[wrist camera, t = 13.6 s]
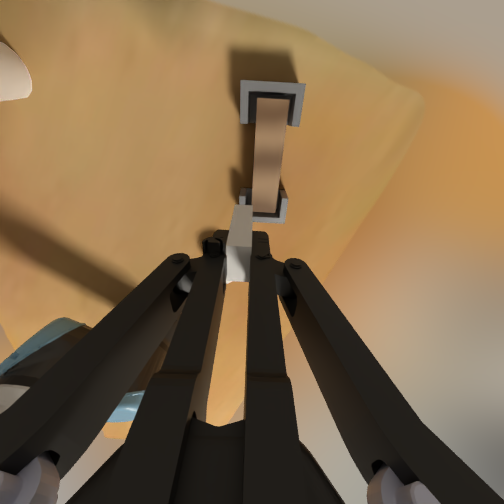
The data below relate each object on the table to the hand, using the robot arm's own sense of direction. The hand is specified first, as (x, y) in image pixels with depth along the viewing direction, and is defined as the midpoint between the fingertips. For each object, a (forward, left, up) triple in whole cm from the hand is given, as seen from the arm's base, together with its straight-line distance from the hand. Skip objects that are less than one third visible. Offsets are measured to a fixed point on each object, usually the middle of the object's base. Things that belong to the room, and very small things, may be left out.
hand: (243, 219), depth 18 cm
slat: (+2, -3, -20) cm, 20 cm away
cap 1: (+9, -2, -20) cm, 22 cm away
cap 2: (-6, -2, -21) cm, 21 cm away
